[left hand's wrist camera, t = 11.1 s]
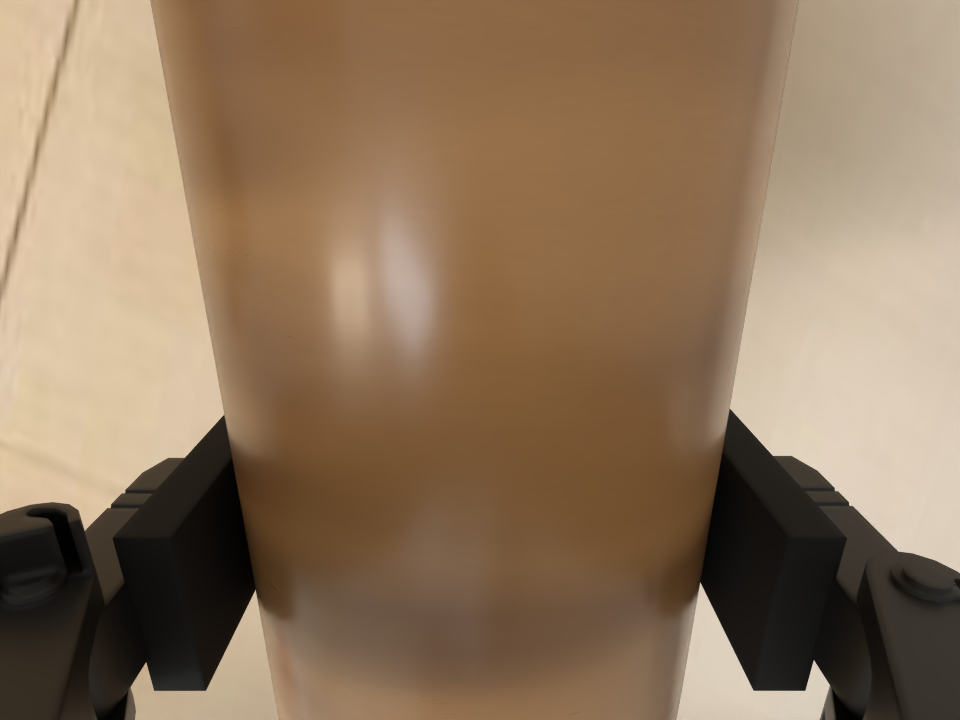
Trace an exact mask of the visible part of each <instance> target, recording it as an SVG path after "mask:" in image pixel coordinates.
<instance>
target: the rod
mask: <svg viewBox="0 0 960 720" xmlns="http://www.w3.org/2000/svg"><path fill="white" fill-rule="evenodd" d="M150 1H151V6H152V12H153V17H154V23H155V29H156V34H157V40H158V45H159V51H160V57H161V62H162V68H163V73H164V79H165V84H166V90H167V96H168V101H169V107H170V112H171V118H172V124H173V129H174V135H175V140H176V146H177V152H178V157H179V163H180V168H181V174H182V180H183V185H184V191H185V196H186V202H187V208H188V213H189V219H190V224H191V230H192V235H193V241H194V247H195V252H196V258H197V263H198V269H199V275H200V280H201V286H202V291H203V297H204V303H205V308H206V314H207V319H208V325H209V331H210V336H211V342H212V347H213V353H214V359H215V364H216V370H217V375H218V381H219V386H220V392H221V398H222V403H223V409H224V414H225V420H226V426H227V431H228V437H229V442H230V448H231V454H232V459H233V465H234V470H235V476H236V482H237V487H238V493H239V498H240V504H241V510H242V515H243V521H244V526H245V532H246V537H247V543H248V549H249V554H250V560H251V565H252V571H253V577H254V582H255V588H256V593H257V599H258V605H259V610H260V616H261V621H262V627H263V633H264V638H265V644H266V649H267V655H268V660H269V666H270V672H271V677H272V683H273V688H274V694H275V699H276V705H277V710H278V716H279V720H676V718H677V713H678V708H679V703H680V697H681V692H682V686H683V680H684V674H685V668H686V662H687V656H688V651H689V645H690V639H691V633H692V627H693V621H694V615H695V609H696V603H697V598H698V592H699V586H700V580H701V574H702V568H703V562H704V556H705V550H706V545H707V539H708V533H709V527H710V521H711V515H712V509H713V503H714V497H715V491H716V486H717V480H718V474H719V468H720V462H721V456H722V450H723V444H724V438H725V433H726V427H727V421H728V415H729V409H730V403H731V397H732V391H733V385H734V379H735V374H736V368H737V362H738V356H739V350H740V344H741V338H742V332H743V326H744V321H745V315H746V309H747V303H748V297H749V291H750V285H751V279H752V273H753V268H754V262H755V256H756V250H757V244H758V238H759V232H760V226H761V220H762V214H763V209H764V203H765V197H766V191H767V185H768V179H769V173H770V167H771V161H772V156H773V150H774V144H775V138H776V132H777V126H778V120H779V114H780V108H781V103H782V97H783V91H784V85H785V79H786V73H787V67H788V61H789V55H790V49H791V44H792V38H793V32H794V26H795V20H796V14H797V8H798V2H799V0H150Z"/></svg>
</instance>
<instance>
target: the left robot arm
mask: <svg viewBox="0 0 960 720" xmlns="http://www.w3.org/2000/svg"><path fill="white" fill-rule="evenodd" d="M834 489H835V488H834V487H833V486H832V485H831V484H830V483H829V482H828V481H827V480H826V479H825V478H824V477H823V476H822V475H821V474H820V473H819V472H818V471H817V470H815V469H813V468H812V467H810V466H808V465H806V464H805V463H803V462H801V461H799V460H798V459H796V458H794V457H792V456H772V455H771V453H770V452H769V451H768V450H767V449H766V448H765V447H764V446H763V445H762V444H761V442H760V441H759V440H758V439H757V438H756V437H755V436H754V435H753V434H752V433H751V431H750V430H749V429H748V428H747V427H746V426H745V425H744V424H743V423H742V422H741V420H740V419H739V418H738V417H737V416H736V415H735V414H734V413H733V412H732V411H731V409H729V415H728V421H727V427H726V433H725V438H724V444H723V450H722V456H721V462H720V468H719V474H718V480H717V486H716V491H715V497H714V503H713V509H712V515H711V521H710V527H709V533H708V539H707V545H706V550H705V556H704V562H703V568H702V574H701V580H700V582H701V584H702V586H703V588H704V590H705V592H706V594H707V597H708V599H709V601H710V603H711V605H712V607H713V609H714V611H715V613H716V615H717V617H718V619H719V621H720V623H721V625H722V627H723V629H724V631H725V633H726V635H727V637H728V639H729V641H730V643H731V645H732V647H733V649H734V651H735V654H736V656H737V658H738V660H739V662H740V664H741V666H742V668H743V670H744V672H745V674H746V676H747V678H748V680H749V682H750V684H751V686H752V688H753V690H754V691H805V690H806V686H807V682H808V679H809V675H810V672H811V668H812V664H813V661H815V662H816V664H817V665H818V667H819V668H820V670H821V672H822V673H823V675H824V676H825V678H826V679H827V681H828V683H829V684H830V687H829V691H828V694H827V697H826V701H825V704H824V708H823V711H822V714H821V718H820V720H960V573H958V572H957V571H955V570H953V569H951V568H949V567H947V566H945V565H943V564H941V563H939V562H937V561H935V560H932V559H928V558H925V557H922V556H919V555H916V554H912V553H904V552H898V551H897V550H896V549H895V548H894V547H893V546H892V545H891V544H890V543H889V542H888V541H887V540H886V539H885V538H884V537H883V536H882V535H881V534H880V533H879V532H878V531H877V530H876V529H875V528H874V527H873V526H872V525H871V524H870V523H869V522H868V521H867V520H866V519H865V518H864V517H863V516H862V515H861V514H860V513H859V512H858V511H857V510H856V509H855V508H854V507H853V506H849V502H848V501H847V500H846V499H845V498H844V497H843V496H842V495H841V494H840V493H839V492H838V491H835V490H834ZM125 491H126V492H125V494H121V495H120V496H119V497H118V498H117V499H116V500H115V501H114V502H113V503H112V504H111V508H107V509H106V510H105V511H104V512H103V513H102V514H101V515H100V516H99V517H98V518H97V519H96V520H95V521H94V522H93V523H92V524H91V525H90V526H89V527H88V528H87V529H86V530H85V531H84V528H83V524H82V521H81V517H80V514H79V511H78V510H77V509H76V508H74V507H72V506H71V505H69V504H62V503H54V502H51V503H42V504H33V505H28V506H25V507H21V508H18V509H14V510H10V511H7V512H5V513H2V514H0V720H135V713H136V709H135V703H134V697H133V694H132V691H131V685H132V684H133V682H134V680H135V679H136V677H137V676H138V674H139V672H140V671H141V669H142V668H143V666H144V664H145V663H146V662H147V666H148V670H149V673H150V677H151V680H152V684H153V688H154V691H206V689H207V687H208V685H209V683H210V681H211V679H212V677H213V675H214V673H215V671H216V669H217V667H218V665H219V663H220V661H221V659H222V657H223V655H224V653H225V651H226V649H227V647H228V645H229V643H230V641H231V638H232V636H233V634H234V632H235V630H236V628H237V626H238V624H239V622H240V620H241V618H242V616H243V614H244V612H245V610H246V608H247V606H248V604H249V602H250V600H251V598H252V596H253V594H254V592H255V590H256V588H255V582H254V577H253V571H252V565H251V560H250V554H249V549H248V543H247V537H246V532H245V526H244V521H243V515H242V510H241V504H240V498H239V493H238V487H237V482H236V476H235V470H234V465H233V459H232V454H231V448H230V442H229V437H228V431H227V426H226V420H225V414H224V416H223V417H222V418H221V419H220V420H219V421H218V422H217V423H216V424H215V425H214V427H213V428H212V429H211V430H210V431H209V432H208V433H207V434H206V435H205V436H204V438H203V439H202V440H201V441H200V442H199V443H198V444H197V445H196V446H195V447H194V449H193V450H192V451H191V452H190V453H189V454H188V455H187V456H186V457H185V458H167V459H166V460H164V461H162V462H161V463H159V464H157V465H155V466H154V467H152V468H150V469H148V470H147V471H145V472H143V473H142V474H141V475H140V476H139V477H138V478H137V479H136V480H135V481H134V482H133V483H132V484H131V485H130V486H129V487H128V488H127V489H126V490H125Z"/></svg>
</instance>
